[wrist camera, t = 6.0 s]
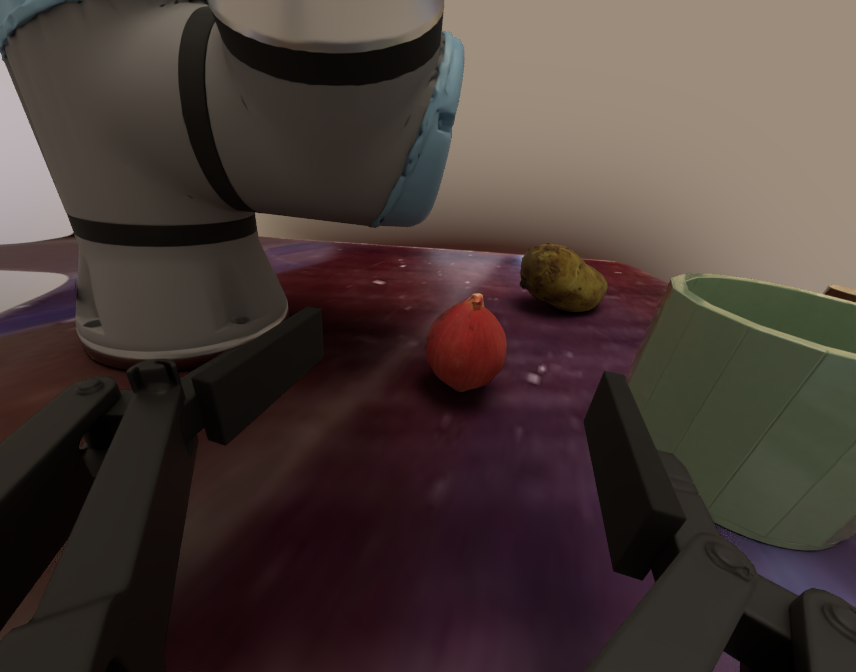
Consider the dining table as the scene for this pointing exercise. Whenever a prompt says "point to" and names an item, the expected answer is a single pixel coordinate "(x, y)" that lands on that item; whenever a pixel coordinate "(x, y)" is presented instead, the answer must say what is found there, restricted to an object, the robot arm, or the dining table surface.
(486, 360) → the onion
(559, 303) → the potato
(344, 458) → the dining table surface
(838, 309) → the pot
